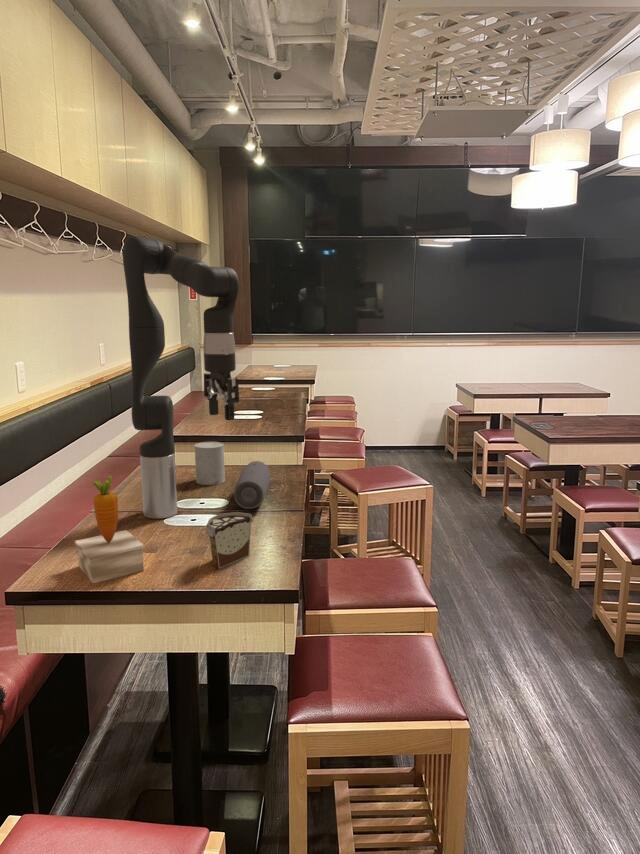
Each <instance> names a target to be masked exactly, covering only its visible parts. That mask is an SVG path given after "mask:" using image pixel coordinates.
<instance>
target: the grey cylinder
mask: <svg viewBox="0 0 640 854" xmlns="http://www.w3.org/2000/svg"><path fill="white" fill-rule="evenodd" d="M194 458H195V459H194V460H195V483H197V484H198V485H203V486H213V485H219V484H223V483H225V482H226V474H225V472H226V471H225V443H223V442H220V441H201V442H197V443H196V444H194Z"/></svg>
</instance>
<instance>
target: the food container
mask: <svg viewBox="0 0 640 854" xmlns="http://www.w3.org/2000/svg"><path fill="white" fill-rule="evenodd" d="M253 520H254V519H253V516H252V514H251V513H247V512H239V511H238V512H237V511H236V512H225V513H221V514H216V515H214V516H211V517H210V518H209V519H208V520H207V523H206V527H205V533H206V534H207V535H208V536H209V542H210V543H209V544H210V550H211V557H212V565H213V566H214V567H215V568H216V569H217V570H220V569H223V568H225V567H227V566H230V565H232V564H234V563H237V562H239V561H241V560H244V559H247V558H248V557H250V550H251V549H250V548H251V547H250V546H251V531H252V530H251V529H252V527H251V526H252V523H253V522H254V521H253Z"/></svg>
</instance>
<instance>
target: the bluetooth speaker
mask: <svg viewBox="0 0 640 854" xmlns="http://www.w3.org/2000/svg"><path fill="white" fill-rule="evenodd" d="M270 480H271V472H270V468H269V467H268V465H267V464H265V462H263V461H260V460H254V461H251V462H249V463H248V464H247V465H245V466H244V468H243V470H241V473H240V474H239V476H238V479H237V481H236V483H235V487H234V489H233V490H234V492H233V498H234V501H235V502H236V505H238V506H239V507H241V508H242V509H245V510H253V509H256V508H258V507H259V506H260V505H261V504H262V503H263V501H264V499H265V497H266V495H267V494H268V490H269V487H270V482H271V481H270Z"/></svg>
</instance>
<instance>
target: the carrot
mask: <svg viewBox="0 0 640 854" xmlns="http://www.w3.org/2000/svg"><path fill="white" fill-rule="evenodd" d="M112 479H113V478H112V476H111V475H108V476H107V480H105V482H104V484H102V483H101V482H100V481H99V480H96V481H93V485H94V486H95V487H96V488H97V490H98V491H99V493H98V494H96V495H95V496H94V497H93V508H94V514H95V521H96V524H97V527H98V529H99V532H100V535H102V536H103V537H104V539H105V540H106V541H107V542H108V543H110V542H111V541H112V539H113V536H114V534H115V532H117V531H116V530H117V526H118V519H119V504H118V503H119V502H118V500H119V499H118V496H117V495H116V494H115V493H114V492H112V491H110V489H111V487H112V484H111V483H112Z"/></svg>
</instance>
